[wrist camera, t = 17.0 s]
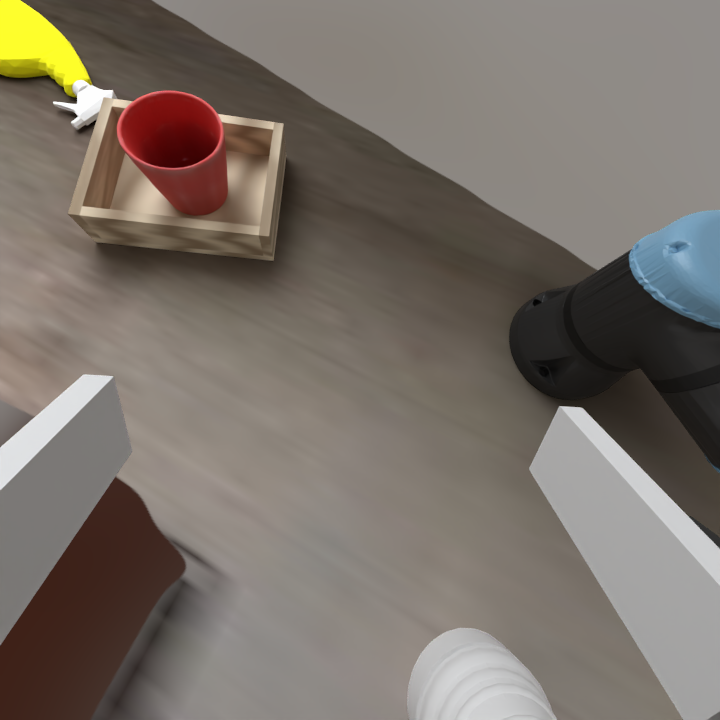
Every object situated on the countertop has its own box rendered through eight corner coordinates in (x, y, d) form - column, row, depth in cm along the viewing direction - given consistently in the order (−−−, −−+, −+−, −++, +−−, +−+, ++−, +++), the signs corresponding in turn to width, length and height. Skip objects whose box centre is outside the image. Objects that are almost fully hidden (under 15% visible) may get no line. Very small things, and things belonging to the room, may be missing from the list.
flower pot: (206, 242, 46) (179, 187, 37) (136, 197, 47) (92, 132, 37) (256, 187, 49) (243, 124, 40) (190, 145, 50) (162, 74, 41)
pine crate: (286, 157, 53) (283, 123, 47) (273, 260, 48) (269, 236, 43) (125, 135, 50) (103, 97, 45) (96, 242, 46) (67, 213, 40)
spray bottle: (18, 4, 54) (138, 102, 53) (-51, 38, 51) (75, 143, 50) (2, -21, 51) (129, 82, 50) (-72, 13, 48) (61, 124, 47)
